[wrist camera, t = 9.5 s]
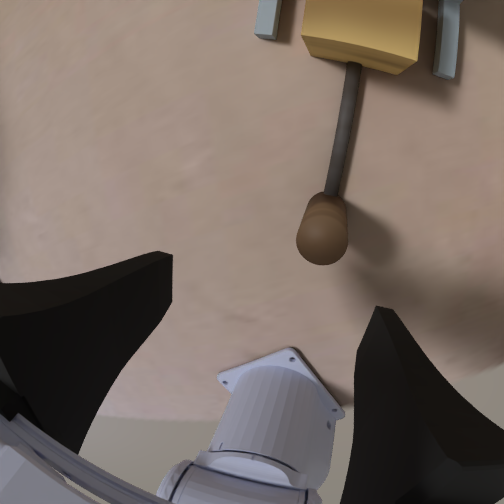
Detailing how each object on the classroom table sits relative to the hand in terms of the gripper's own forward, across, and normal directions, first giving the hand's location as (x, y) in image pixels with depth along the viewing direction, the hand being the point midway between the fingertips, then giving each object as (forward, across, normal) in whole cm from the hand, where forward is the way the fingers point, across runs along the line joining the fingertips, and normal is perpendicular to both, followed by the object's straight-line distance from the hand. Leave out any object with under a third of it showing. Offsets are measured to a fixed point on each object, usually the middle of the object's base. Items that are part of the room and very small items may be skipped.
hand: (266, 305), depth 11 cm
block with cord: (+10, -1, -7) cm, 12 cm away
